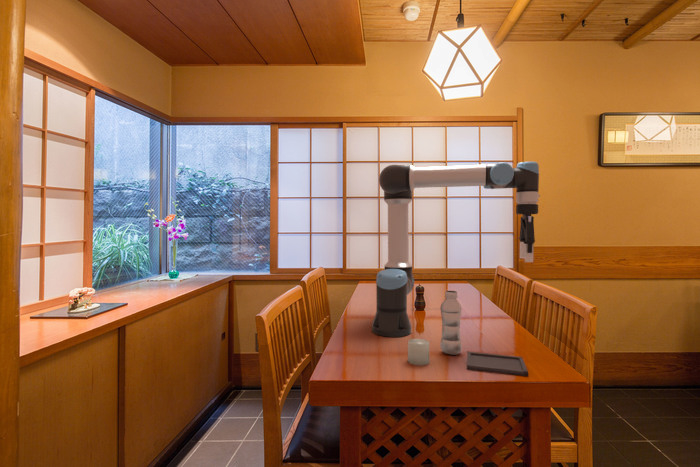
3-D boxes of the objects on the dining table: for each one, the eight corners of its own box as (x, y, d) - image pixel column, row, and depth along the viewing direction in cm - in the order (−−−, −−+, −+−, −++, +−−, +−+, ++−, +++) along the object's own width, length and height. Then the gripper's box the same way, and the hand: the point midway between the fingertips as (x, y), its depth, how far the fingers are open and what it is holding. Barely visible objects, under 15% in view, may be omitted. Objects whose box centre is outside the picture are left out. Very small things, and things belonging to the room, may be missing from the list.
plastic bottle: (458, 358, 116) (459, 294, 115) (437, 354, 119) (437, 292, 119) (464, 352, 121) (464, 291, 120) (443, 348, 125) (444, 289, 124)
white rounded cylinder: (406, 364, 111) (406, 344, 111) (409, 356, 117) (409, 337, 117) (428, 366, 109) (428, 346, 109) (430, 358, 115) (430, 339, 115)
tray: (466, 369, 107) (466, 365, 107) (467, 355, 119) (467, 351, 119) (528, 376, 102) (528, 372, 102) (522, 360, 114) (522, 356, 114)
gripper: (544, 201, 127) (543, 264, 128) (532, 205, 151) (531, 257, 152) (520, 202, 129) (519, 263, 130) (512, 205, 153) (511, 256, 154)
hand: (526, 260), depth 141 cm, fingers open, 13 cm apart
